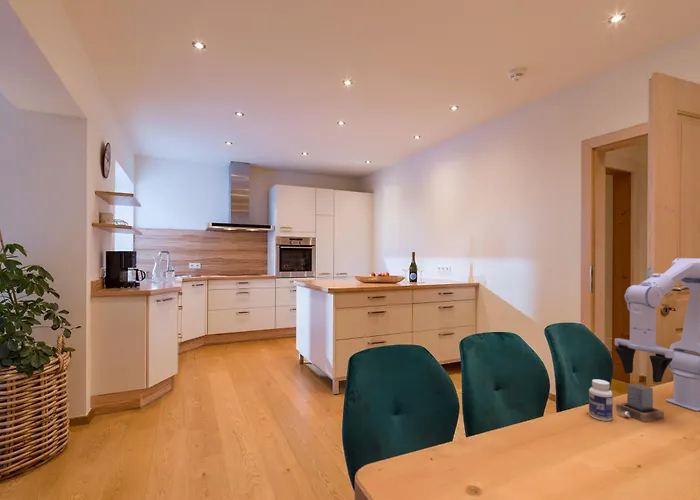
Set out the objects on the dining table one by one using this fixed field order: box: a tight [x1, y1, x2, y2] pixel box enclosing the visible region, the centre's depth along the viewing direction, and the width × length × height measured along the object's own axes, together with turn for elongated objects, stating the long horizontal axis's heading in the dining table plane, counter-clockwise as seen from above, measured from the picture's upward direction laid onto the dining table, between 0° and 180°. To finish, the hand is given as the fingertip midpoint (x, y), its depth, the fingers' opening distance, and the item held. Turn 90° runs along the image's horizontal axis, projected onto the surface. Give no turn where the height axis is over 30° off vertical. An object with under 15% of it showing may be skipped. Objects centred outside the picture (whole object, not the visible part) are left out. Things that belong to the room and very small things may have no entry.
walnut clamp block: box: [616, 402, 665, 423], centre depth 103 cm, size 10×7×2 cm
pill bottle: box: [588, 378, 614, 422], centre depth 101 cm, size 5×5×10 cm
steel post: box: [626, 383, 654, 413], centre depth 103 cm, size 4×4×8 cm
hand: (642, 377), depth 103 cm, fingers open, 7 cm apart
